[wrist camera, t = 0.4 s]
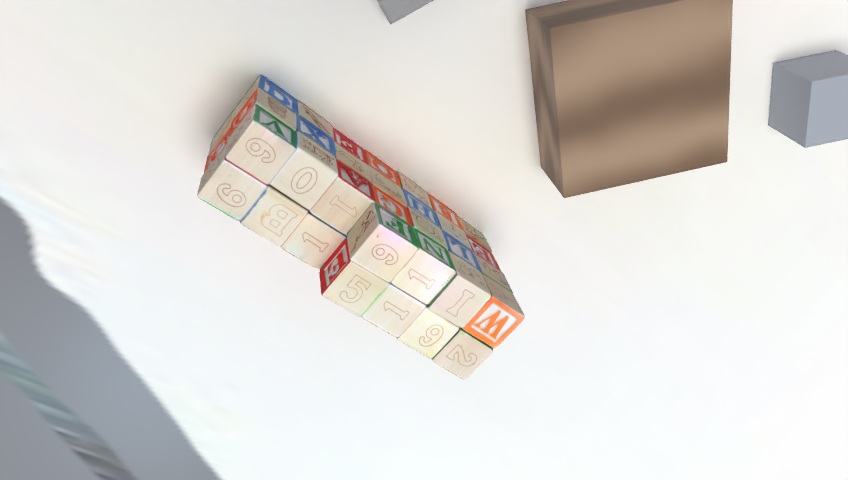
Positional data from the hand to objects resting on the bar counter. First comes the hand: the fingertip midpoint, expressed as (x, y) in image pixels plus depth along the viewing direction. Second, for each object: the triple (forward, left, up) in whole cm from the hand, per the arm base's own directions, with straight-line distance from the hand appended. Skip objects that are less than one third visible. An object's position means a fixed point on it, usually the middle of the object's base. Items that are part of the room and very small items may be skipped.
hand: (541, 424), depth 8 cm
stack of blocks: (+18, -2, -46) cm, 50 cm away
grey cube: (+17, +33, -46) cm, 59 cm away
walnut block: (+13, +18, -46) cm, 51 cm away
